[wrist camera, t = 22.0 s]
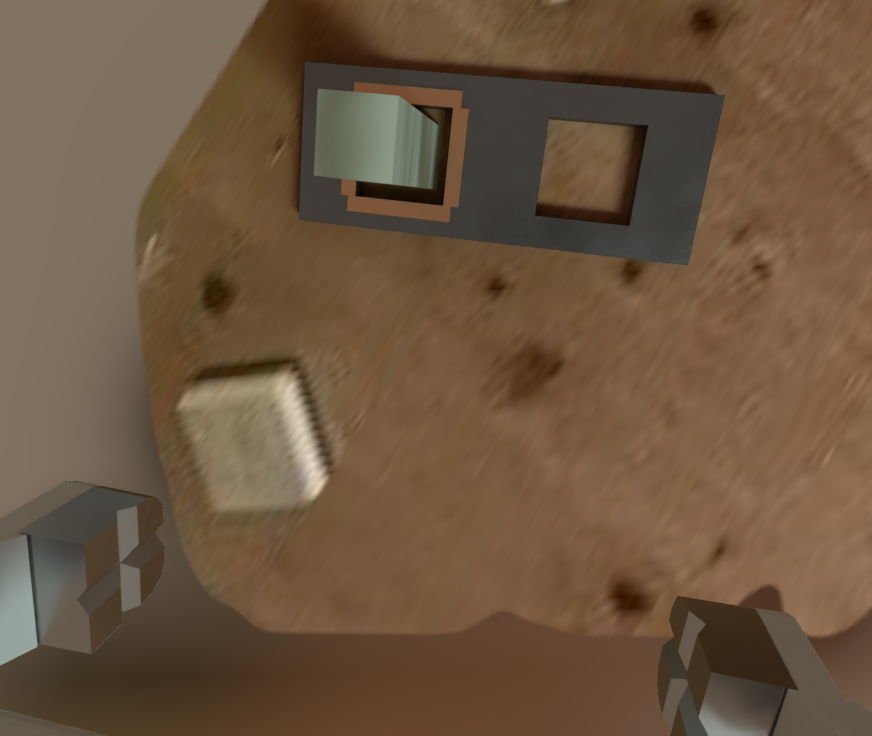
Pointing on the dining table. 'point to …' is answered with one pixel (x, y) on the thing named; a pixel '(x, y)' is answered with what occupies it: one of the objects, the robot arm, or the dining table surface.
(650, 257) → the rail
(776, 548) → the dining table surface
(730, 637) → the robot arm
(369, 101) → the peg
